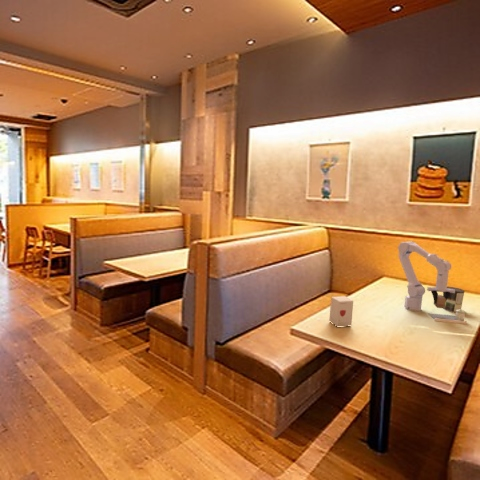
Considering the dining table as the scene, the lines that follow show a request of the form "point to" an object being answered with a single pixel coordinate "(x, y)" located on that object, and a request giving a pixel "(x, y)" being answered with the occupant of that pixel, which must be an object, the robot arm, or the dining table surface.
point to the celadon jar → (460, 315)
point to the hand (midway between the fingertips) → (439, 303)
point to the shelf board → (445, 318)
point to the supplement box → (341, 311)
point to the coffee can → (454, 300)
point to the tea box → (440, 301)
